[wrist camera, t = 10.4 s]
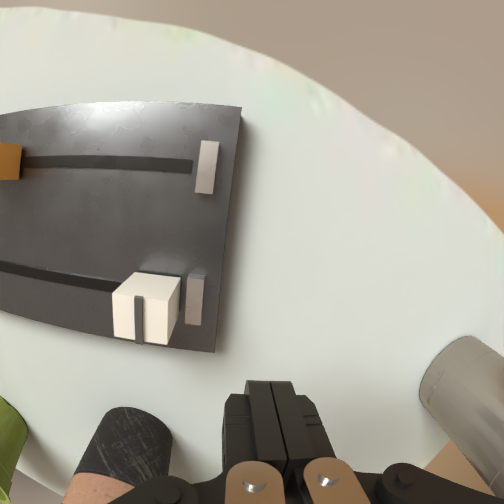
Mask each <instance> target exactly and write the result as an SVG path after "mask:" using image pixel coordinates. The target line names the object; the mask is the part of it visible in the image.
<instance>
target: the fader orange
mask: <svg viewBox="0 0 504 504" xmlns="http://www.w3.org/2000/svg"><path fill="white" fill-rule="evenodd" d="M21 152H22V145H17V144H10V143H3V142H0V180H19V170H20V160H21Z"/></svg>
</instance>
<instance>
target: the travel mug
mask: <svg viewBox="0 0 504 504" xmlns="http://www.w3.org/2000/svg"><path fill="white" fill-rule="evenodd" d="M171 446H172V437H171V434H170V431H169V430H168V428H167V427H166V426H165V425H164V424H163V423H162V422H161V421H160V420H159V419H157V418H156V417H155V416H153V415H151V414H149V413H147V412H145V411H142V410H139V409H136V408H130V407H118V408H114V409H111V410H110V411H108V412H107V413H106V414H105V416H104V417H103V419H102V421H101V422H100V424H99V426H98V428H97V430H96V432H95V434H94V435H93V437H92V439H91V441H90V443H89V445H88V447H87V449H86V451H85V453H84V455H83V457H82V459H81V461H80V463H79V465H78V467H77V469H76V471H75V473H74V475H73V477H72V479H71V482H70V484H69V486H68V489H67V491H66V494H65V496H64V499H63V502H62V504H107V503H109V502H111V501H112V500H114V499H116V498H118V497H120V496H121V495H123V494H125V493H126V492H128V491H130V490H131V489H133V488H135V487H136V486H138V485H140V484H141V483H143V482H144V481H146V480H148V479H150V478H152V477H155V476H162V475H167V476H168V470H169V462H170V454H171Z"/></svg>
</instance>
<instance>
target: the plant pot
mask: <svg viewBox="0 0 504 504" xmlns="http://www.w3.org/2000/svg"><path fill="white" fill-rule="evenodd" d="M27 434H28V429H27V426H26V424H25V422H24V420H23V419H22V417H21V416H20V414H19V413H18V412H17V411H16V410H15V409H14V408H13V407H12V406H10V405H8V404H7V403H6V402H5V400H4V399H3V398H2V397H0V502H1V503H4V504H10V498H9V496H8V495H9V491H10V488H11V484H12V482H11V479H12V476H13V473H14V470H15V467H16V464H17V462H18V459H19V456H20V453H21V451H22V448H23V446H24V443H25V441H26V438H27Z"/></svg>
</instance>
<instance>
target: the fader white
mask: <svg viewBox="0 0 504 504" xmlns="http://www.w3.org/2000/svg"><path fill="white" fill-rule="evenodd" d="M180 280H181V278H179V277H170V276H162V275H154V274H146V273H138V272H134V273H133V274H132V275H131V276H130V277H129V278H128V279H127V280H126V281H125V282H124V283H122V284H121V285H120V286H119V287H118V288H117V289H116V290H115V291H114V292H113V293H112V303H113V324H114V336H116V337H121V338H127V339H133V340H135V343H137V344H143V342H144V341H145V342H151V343H158V344H165V345H167V344H168V342H169V339H170V336H171V334H172V331H173V328H174V326H175V323H176V321H177V318H178V315H179V299H180Z"/></svg>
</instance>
